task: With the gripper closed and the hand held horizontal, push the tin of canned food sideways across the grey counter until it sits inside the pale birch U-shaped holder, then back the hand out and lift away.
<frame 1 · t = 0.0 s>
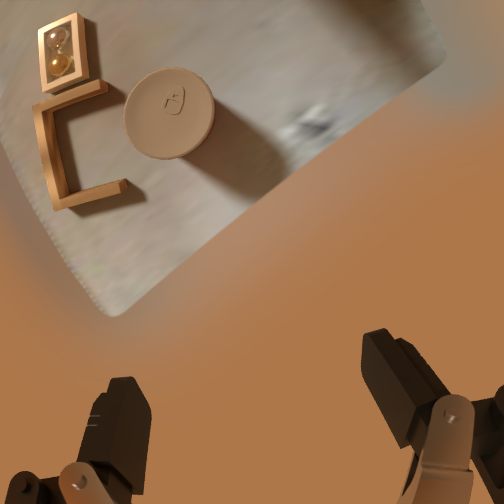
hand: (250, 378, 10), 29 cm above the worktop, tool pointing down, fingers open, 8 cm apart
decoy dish: (66, 54, 28), on the worktop
canned food: (181, 117, 33), on the worktop
brass ball: (65, 66, 28), point 1 cm above the worktop, touching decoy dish
steel ball: (63, 41, 26), point 1 cm above the worktop, touching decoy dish
birch holder: (86, 143, 32), on the worktop
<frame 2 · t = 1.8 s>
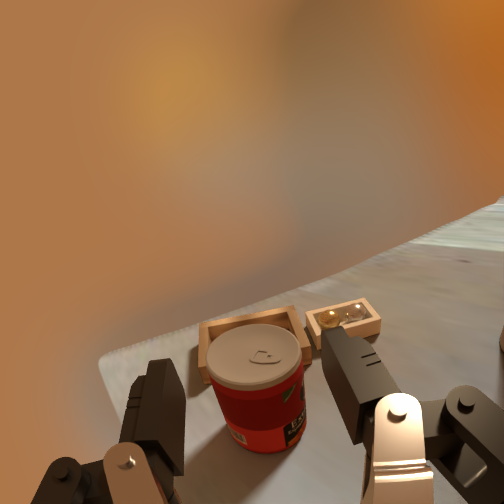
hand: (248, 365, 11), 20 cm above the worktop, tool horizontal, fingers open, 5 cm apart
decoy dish: (342, 329, 41), on the worktop
canned food: (268, 427, 29), on the worktop
brass ball: (329, 329, 41), point 1 cm above the worktop, touching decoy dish
steel ball: (355, 322, 41), point 1 cm above the worktop, touching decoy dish
birch holder: (254, 354, 40), on the worktop
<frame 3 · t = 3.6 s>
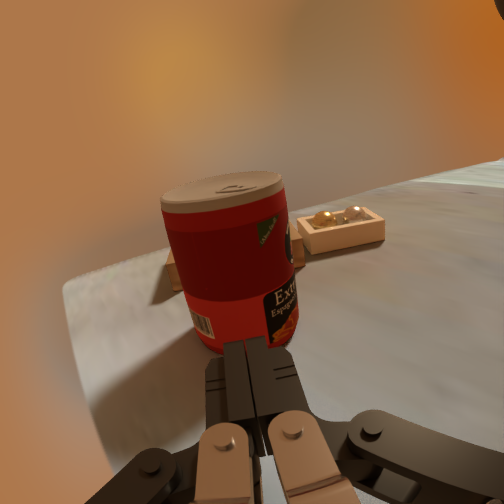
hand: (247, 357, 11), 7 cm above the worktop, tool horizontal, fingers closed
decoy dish: (340, 238, 36), on the worktop
canned food: (248, 328, 24), on the worktop
brass ball: (325, 236, 36), point 1 cm above the worktop, touching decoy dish
steel ball: (355, 230, 36), point 1 cm above the worktop, touching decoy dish
birch holder: (236, 262, 35), on the worktop
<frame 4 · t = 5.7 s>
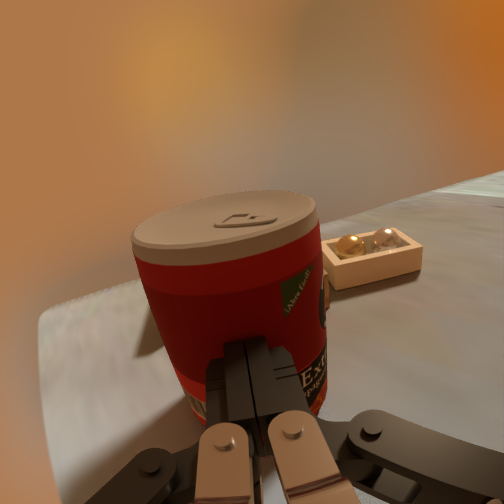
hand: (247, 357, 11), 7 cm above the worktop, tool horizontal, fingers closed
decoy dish: (368, 267, 29), on the worktop
canned food: (259, 398, 17), on the worktop, touching gripper
brass ball: (351, 265, 29), point 1 cm above the worktop, touching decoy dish
steel ball: (385, 257, 29), point 1 cm above the worktop, touching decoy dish
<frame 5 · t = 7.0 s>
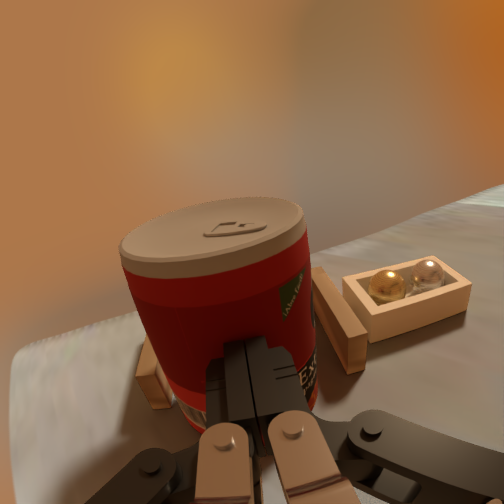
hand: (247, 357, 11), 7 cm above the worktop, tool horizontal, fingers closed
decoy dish: (405, 307, 23), on the worktop
canned food: (250, 402, 17), on the worktop, touching gripper
brass ball: (386, 306, 22), point 1 cm above the worktop, touching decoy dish
steel ball: (425, 295, 22), point 1 cm above the worktop, touching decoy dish
birch holder: (251, 354, 21), on the worktop
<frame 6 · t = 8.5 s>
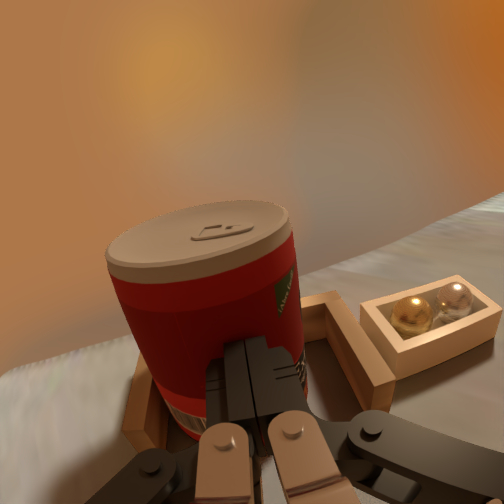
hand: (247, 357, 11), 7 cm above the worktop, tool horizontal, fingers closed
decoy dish: (429, 335, 19), on the worktop
canned food: (241, 405, 17), on the worktop, touching gripper
brass ball: (409, 336, 19), point 1 cm above the worktop, touching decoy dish
steel ball: (450, 320, 19), point 1 cm above the worktop, touching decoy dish
birch holder: (257, 395, 18), on the worktop
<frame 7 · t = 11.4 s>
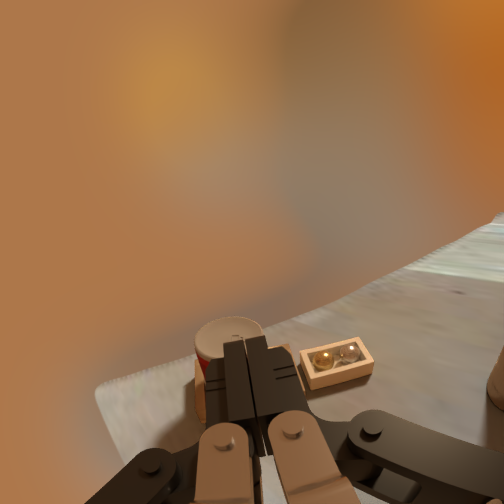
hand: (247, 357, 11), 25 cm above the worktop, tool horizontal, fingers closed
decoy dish: (335, 368, 41), on the worktop
canned food: (242, 397, 39), on the worktop
brass ball: (323, 368, 41), point 1 cm above the worktop, touching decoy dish
steel ball: (348, 362, 41), point 1 cm above the worktop, touching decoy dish
birch holder: (249, 393, 39), on the worktop
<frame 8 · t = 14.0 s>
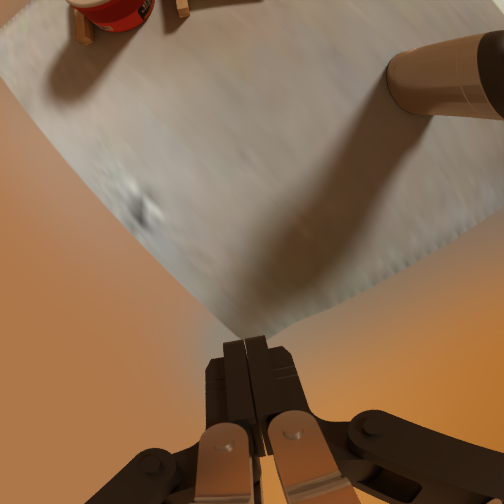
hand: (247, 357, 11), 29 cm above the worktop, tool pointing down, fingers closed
canned food: (125, 8, 27), on the worktop
birch holder: (132, 3, 27), on the worktop
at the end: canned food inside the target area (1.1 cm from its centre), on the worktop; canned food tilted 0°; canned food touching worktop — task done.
